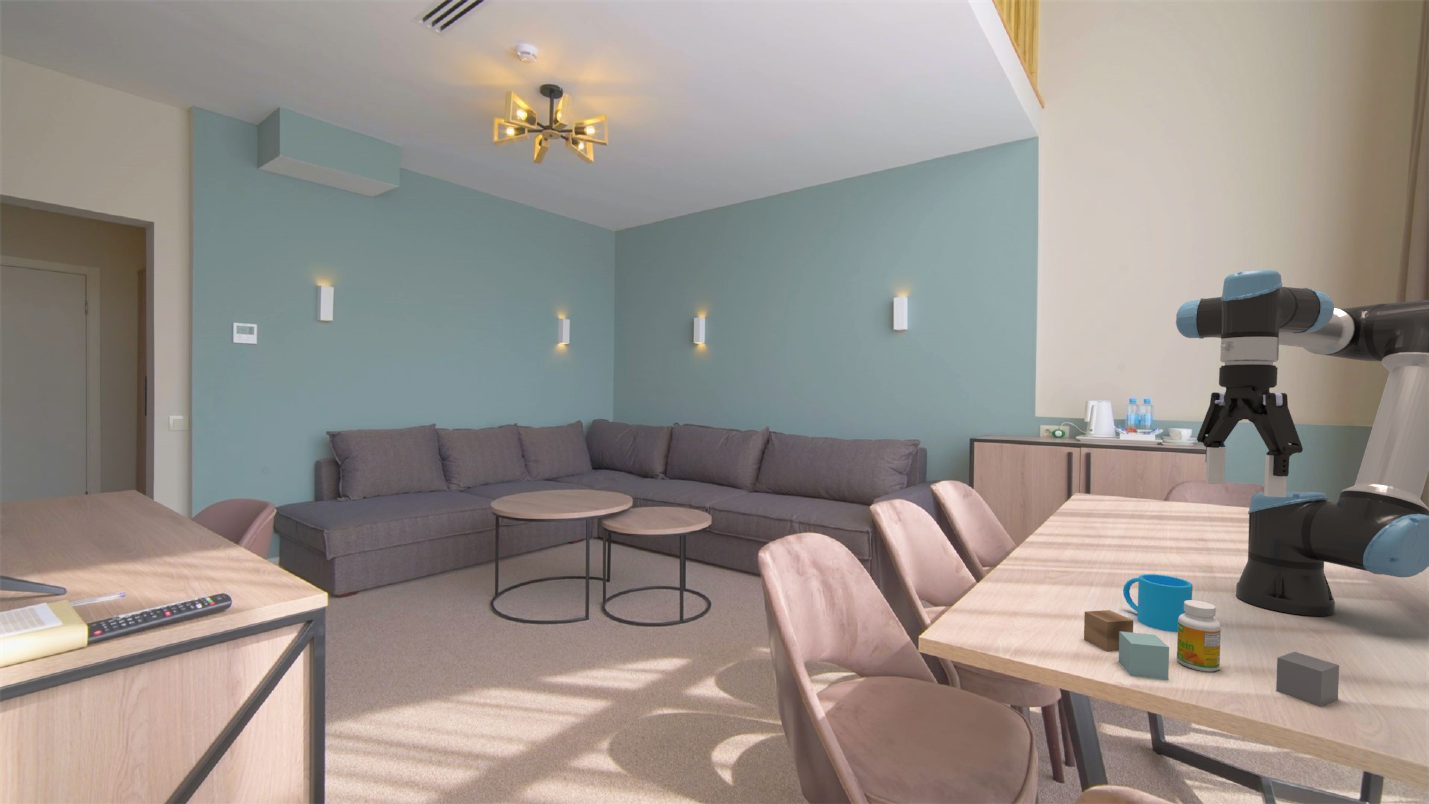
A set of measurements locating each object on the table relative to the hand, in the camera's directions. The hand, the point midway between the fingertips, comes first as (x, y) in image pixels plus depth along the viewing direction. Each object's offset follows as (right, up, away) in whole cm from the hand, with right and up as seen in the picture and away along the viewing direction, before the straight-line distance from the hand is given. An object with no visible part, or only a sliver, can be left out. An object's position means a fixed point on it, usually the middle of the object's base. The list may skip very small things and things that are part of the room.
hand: (1242, 490), depth 108 cm
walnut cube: (-22, -27, +1) cm, 35 cm away
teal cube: (-23, -27, -9) cm, 37 cm away
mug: (-6, -27, +13) cm, 30 cm away
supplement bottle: (-13, -27, -7) cm, 31 cm away
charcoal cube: (-5, -27, -17) cm, 32 cm away
